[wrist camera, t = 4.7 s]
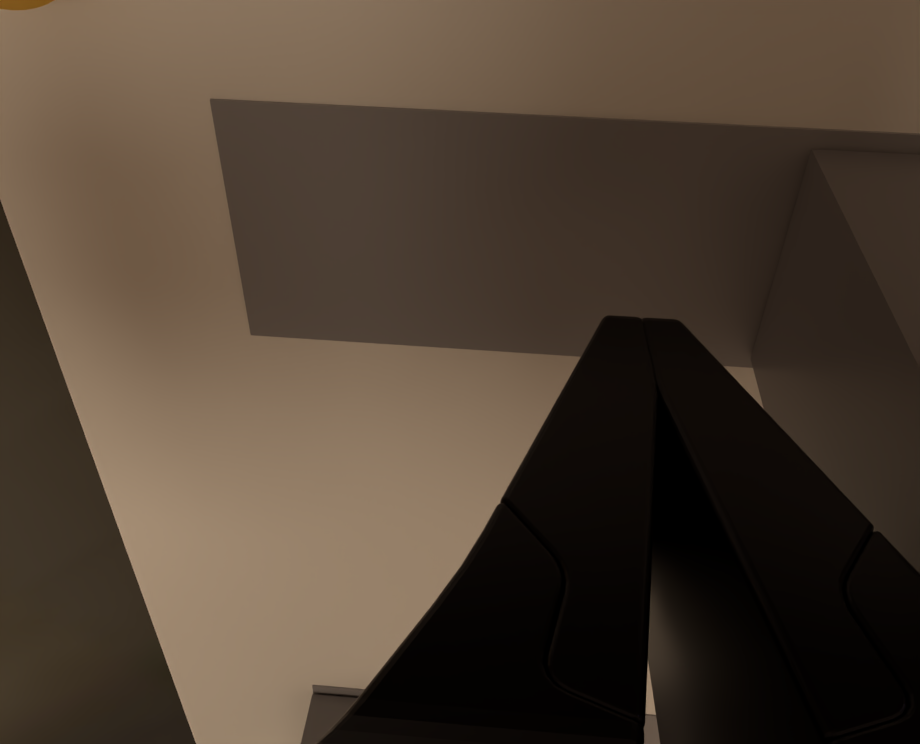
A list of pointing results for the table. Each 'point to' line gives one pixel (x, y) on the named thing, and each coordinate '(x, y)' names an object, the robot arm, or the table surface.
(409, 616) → the beige rectangular board
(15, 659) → the table surface
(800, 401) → the cylinder
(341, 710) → the block
